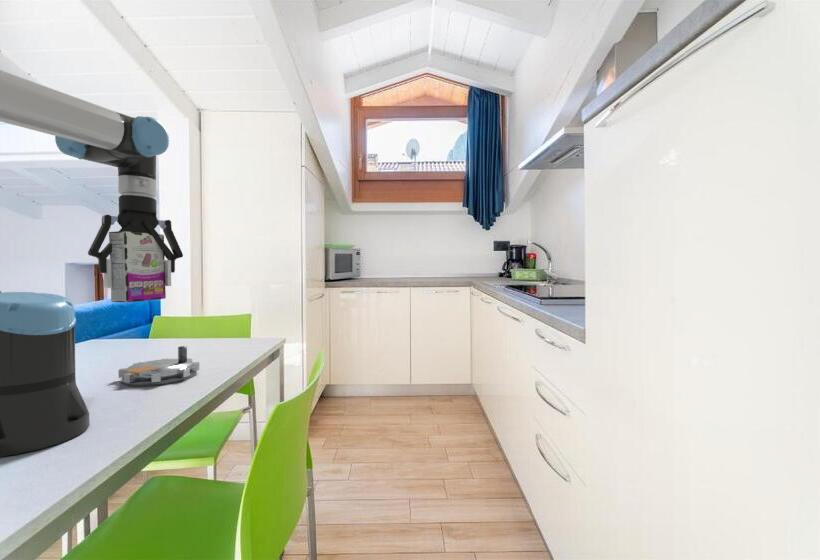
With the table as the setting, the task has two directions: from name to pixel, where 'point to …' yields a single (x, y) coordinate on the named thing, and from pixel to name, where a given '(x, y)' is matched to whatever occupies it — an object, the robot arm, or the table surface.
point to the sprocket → (160, 368)
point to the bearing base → (163, 382)
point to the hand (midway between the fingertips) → (139, 286)
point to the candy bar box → (136, 267)
